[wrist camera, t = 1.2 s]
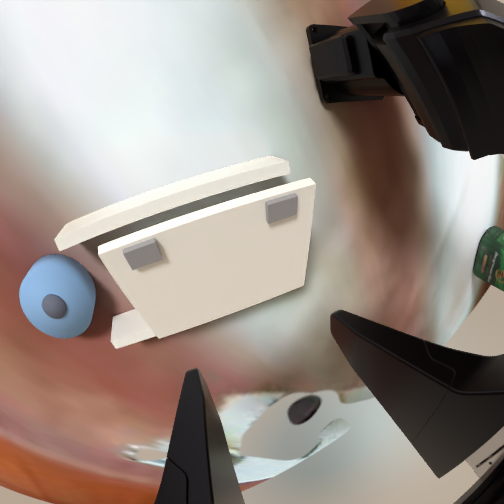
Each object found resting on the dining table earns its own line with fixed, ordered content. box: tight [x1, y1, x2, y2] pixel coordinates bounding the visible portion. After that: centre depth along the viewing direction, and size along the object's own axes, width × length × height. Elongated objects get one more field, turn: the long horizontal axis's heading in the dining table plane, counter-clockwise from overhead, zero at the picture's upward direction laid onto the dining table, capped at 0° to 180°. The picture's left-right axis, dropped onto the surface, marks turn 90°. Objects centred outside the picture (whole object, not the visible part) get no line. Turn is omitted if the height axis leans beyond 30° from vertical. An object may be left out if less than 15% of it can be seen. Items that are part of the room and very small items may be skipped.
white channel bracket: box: [54, 156, 305, 349], centre depth 19 cm, size 15×9×3 cm, turn 102°
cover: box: [98, 178, 316, 339], centre depth 16 cm, size 11×9×1 cm
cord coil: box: [19, 254, 96, 338], centre depth 17 cm, size 6×6×3 cm
